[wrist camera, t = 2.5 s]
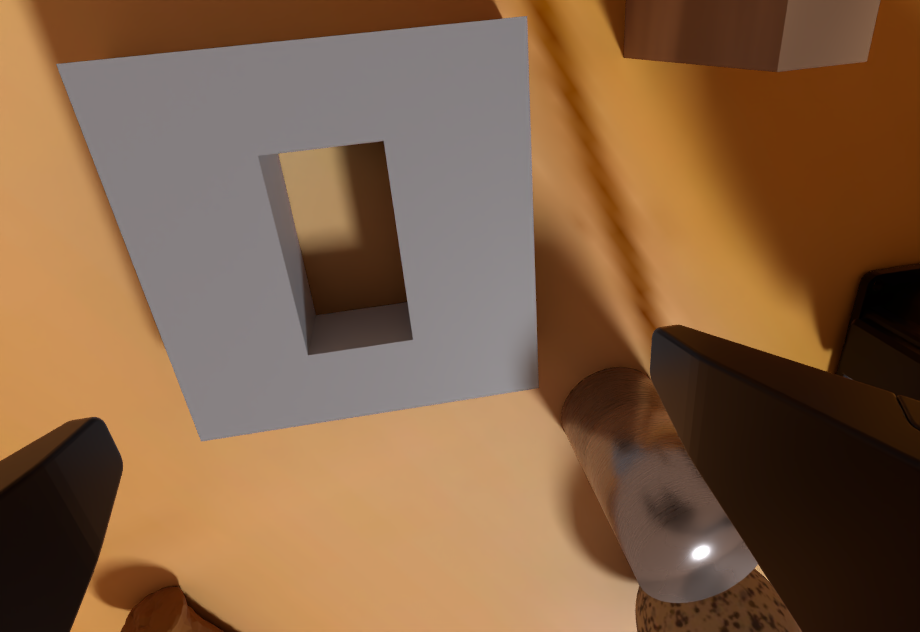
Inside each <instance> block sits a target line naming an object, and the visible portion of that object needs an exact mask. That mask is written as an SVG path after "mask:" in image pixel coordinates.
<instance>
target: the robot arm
mask: <svg viewBox="0 0 920 632" xmlns="http://www.w3.org/2000/svg"><path fill="white" fill-rule="evenodd" d="M874 283H875V284H874ZM873 284H874V285H873ZM650 375H651V380H652V383H653V385H654V387H655V389H656V391H657V393H658V395H659V397H660V399H661V402H662V404H663V406H664V408H665V410H666V412H667V414H668V416H669V418H670V420H671V422H672V424H673V426H674V428H675V430H676V432H677V434H678V436H679V438H680V440H681V442H682V444H683V446H684V448H685V450H686V452H687V454H688V456H689V457H690V459H691V460H692V462H693V464H694V465H695V467H696V469H697V470H698V472H699V473H700V475H701V476H702V478H703V479H704V481H705V483H706V484H707V486H708V487H709V489H710V490H711V492H712V493H713V495H714V496H715V498H716V500H717V501H718V503H719V504H720V506H721V507H722V509H723V510H724V512H725V514H726V515H727V517H728V518H729V520H730V521H731V523H732V524H733V526H734V527H735V529H736V531H737V532H738V534H739V535H740V537H741V538H742V540H743V541H744V543H745V544H746V546H747V548H748V549H749V551H750V552H751V554H752V555H753V557H754V558H755V560H756V561H757V563H758V565H759V566H760V568H761V569H762V571H763V572H764V574H765V575H766V577H767V579H768V580H769V582H770V583H771V585H772V586H773V588H774V589H775V591H776V592H777V594H778V596H779V597H780V599H781V600H782V602H783V603H784V605H785V606H786V608H787V609H788V611H789V613H790V614H791V616H792V617H793V619H794V620H795V622H796V623H797V625H798V627H799V628H800V630H801V631H802V632H920V264H914V265H908V266H901V267H894V268H887V269H881V270H874V271H871V272H868V273H867V274H866V275H865V276H864V277H863V278H862V279H861V282H860V284H859V288H858V292H857V296H856V300H855V304H854V308H853V312H852V315H851V319H850V323H849V327H848V331H847V335H846V339H845V343H844V346H843V350H842V354H841V358H840V362H839V366H838V370H837V374H833V373H829V372H826V371H823V370H820V369H817V368H814V367H811V366H807V365H804V364H801V363H798V362H795V361H792V360H789V359H786V358H782V357H779V356H776V355H773V354H770V353H767V352H764V351H760V350H757V349H754V348H751V347H748V346H745V345H742V344H739V343H735V342H732V341H729V340H726V339H723V338H720V337H717V336H713V335H710V334H707V333H704V332H701V331H698V330H695V329H692V328H688V327H685V326H682V325H672V326H665V327H660V328H657V329H656V330H655V331H654V333H653V336H652V347H651V362H650ZM122 471H123V462H122V458H121V455H120V453H119V451H118V449H117V447H116V445H115V442H114V440H113V438H112V436H111V434H110V432H109V430H108V428H107V426H106V424H105V423H104V421H103V420H101V419H100V418H97V417H90V418H83V419H77V420H72V421H69V422H66V423H65V424H63V425H61V426H60V427H58V428H56V429H54V430H53V431H51V432H49V433H48V434H46V435H44V436H43V437H41V438H39V439H37V440H36V441H34V442H32V443H31V444H29V445H27V446H25V447H24V448H22V449H20V450H19V451H17V452H15V453H13V454H12V455H10V456H8V457H7V458H5V459H3V460H1V461H0V632H70V630H71V628H72V625H73V623H74V620H75V618H76V615H77V613H78V610H79V608H80V605H81V603H82V600H83V598H84V595H85V593H86V590H87V587H88V585H89V582H90V580H91V577H92V575H93V572H94V569H95V566H96V564H97V561H98V558H99V555H100V551H101V548H102V545H103V541H104V538H105V534H106V530H107V527H108V523H109V520H110V516H111V512H112V509H113V505H114V501H115V498H116V494H117V490H118V487H119V483H120V479H121V476H122Z"/></svg>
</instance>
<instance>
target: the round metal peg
mask: <svg viewBox="0 0 920 632" xmlns="http://www.w3.org/2000/svg"><path fill="white" fill-rule="evenodd" d="M561 420H562V426H563V429H564V431H565V433H566V435H567V437H568V440H569V442H570V444H571V446H572V448H573V450H574V452H575V454H576V456H577V458H578V460H579V462H580V464H581V466H582V468H583V470H584V472H585V474H586V477H587V479H588V481H589V483H590V485H591V487H592V489H593V491H594V493H595V495H596V497H597V499H598V501H599V503H600V505H601V507H602V509H603V511H604V514H605V516H606V518H607V520H608V522H609V524H610V526H611V528H612V530H613V532H614V534H615V536H616V538H617V540H618V542H619V544H620V546H621V548H622V551H623V553H624V555H625V557H626V559H627V561H628V563H629V565H630V567H631V569H632V571H633V573H634V575H635V577H636V579H637V581H638V583H639V585H640V587H641V588H642V590H643V591H644V592H645V593H646V594H648V595H649V596H651V597H653V598H655V599H657V600H660V601H664V602H670V603H688V602H695V601H699V600H703V599H706V598H710V597H712V596H715V595H717V594H720V593H722V592H724V591H726V590H728V589H729V588H731V587H733V586H734V585H736V584H737V583H738V582H740V581H741V580H743V579H744V578H745V577H746V576H747V575H748V574H749V573H750V572H751V571H752V570H753V569H754V568H755V567H756V566H757V564H758V563H757V561H756V560H755V558H754V557H753V555H752V554H751V552H750V551H749V549H748V548H747V546H746V544H745V543H744V541H743V540H742V538H741V537H740V535H739V534H738V532H737V531H736V529H735V527H734V526H733V524H732V523H731V521H730V520H729V518H728V517H727V515H726V514H725V512H724V510H723V509H722V507H721V506H720V504H719V503H718V501H717V500H716V498H715V496H714V495H713V493H712V492H711V490H710V489H709V487H708V486H707V484H706V483H705V481H704V479H703V478H702V476H701V475H700V473H699V472H698V470H697V469H696V467H695V465H694V464H693V462H692V460H691V459H690V457H689V456H688V454H687V452H686V450H685V448H684V446H683V444H682V442H681V440H680V438H679V436H678V434H677V432H676V430H675V428H674V426H673V424H672V422H671V420H670V418H669V416H668V414H667V412H666V410H665V408H664V406H663V404H662V402H661V399H660V397H659V395H658V393H657V391H656V389H655V387H654V385H653V383H652V381H651V380H650V379H649V378H648V377H647V376H646V375H645V374H643V373H642V372H639V371H637V370H634V369H631V368H620V367H618V368H610V369H605V370H602V371H599V372H597V373H594V374H592V375H590V376H589V377H587V378H585V379H584V380H583V381H581V382H580V383H579V384H578V385H577V386H576V387H575V388H574V389H573V390H572V391H571V393H570V394H569V396H568V397H567V399H566V401H565V403H564V406H563V409H562V416H561Z"/></svg>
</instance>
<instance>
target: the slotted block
mask: <svg viewBox="0 0 920 632" xmlns="http://www.w3.org/2000/svg"><path fill="white" fill-rule="evenodd" d="M56 65H57V68H58V70H59V73H60V75H61V78H62V81H63V83H64V86H65V88H66V91H67V94H68V96H69V99H70V101H71V104H72V107H73V109H74V112H75V114H76V117H77V120H78V122H79V125H80V127H81V130H82V133H83V135H84V138H85V140H86V143H87V146H88V148H89V151H90V153H91V156H92V159H93V161H94V164H95V166H96V169H97V172H98V174H99V177H100V179H101V182H102V185H103V187H104V190H105V192H106V195H107V198H108V200H109V203H110V205H111V208H112V211H113V213H114V216H115V218H116V221H117V224H118V226H119V229H120V231H121V234H122V237H123V239H124V242H125V244H126V247H127V250H128V252H129V255H130V257H131V260H132V263H133V265H134V268H135V270H136V273H137V276H138V278H139V281H140V283H141V286H142V289H143V291H144V294H145V296H146V299H147V302H148V304H149V307H150V309H151V312H152V315H153V317H154V320H155V322H156V325H157V328H158V330H159V333H160V335H161V338H162V341H163V343H164V346H165V349H166V351H167V354H168V356H169V359H170V362H171V364H172V367H173V369H174V372H175V375H176V377H177V380H178V382H179V385H180V388H181V390H182V393H183V395H184V398H185V401H186V403H187V406H188V408H189V411H190V414H191V416H192V419H193V421H194V424H195V427H196V429H197V432H198V434H199V437H200V440H201V441H207V440H213V439H220V438H226V437H232V436H239V435H245V434H251V433H258V432H264V431H270V430H277V429H283V428H289V427H296V426H302V425H308V424H315V423H321V422H327V421H334V420H340V419H346V418H353V417H359V416H365V415H371V414H378V413H384V412H390V411H397V410H403V409H409V408H416V407H422V406H428V405H435V404H441V403H447V402H454V401H460V400H466V399H473V398H479V397H485V396H492V395H498V394H504V393H510V392H517V391H523V390H529V389H536V388H539V381H538V349H537V318H536V286H535V255H534V223H533V191H532V160H531V128H530V97H529V65H528V33H527V16H524V17H514V18H504V19H495V20H485V21H475V22H465V23H455V24H445V25H436V26H426V27H416V28H406V29H396V30H386V31H377V32H367V33H357V34H347V35H337V36H327V37H318V38H308V39H298V40H288V41H278V42H268V43H259V44H249V45H239V46H229V47H219V48H209V49H199V50H190V51H180V52H170V53H160V54H150V55H140V56H131V57H121V58H111V59H101V60H91V61H81V62H72V63H62V64H56ZM379 141H384V147H385V153H386V160H387V167H388V174H389V180H390V187H391V194H392V201H393V207H394V214H395V221H396V228H397V234H398V241H399V248H400V255H401V261H402V268H403V275H404V282H405V288H406V295H407V302H406V303H399V304H392V305H385V306H378V307H371V308H363V309H356V310H349V311H342V312H335V313H328V314H321V315H316V313H315V309H314V305H313V301H312V296H311V292H310V288H309V284H308V279H307V275H306V271H305V267H304V262H303V258H302V254H301V249H300V245H299V241H298V237H297V232H296V228H295V224H294V220H293V215H292V211H291V207H290V203H289V198H288V194H287V190H286V185H285V181H284V177H283V173H282V168H281V164H280V160H279V156H278V153H286V152H294V151H303V150H311V149H320V148H328V147H336V146H345V145H353V144H362V143H370V142H379Z"/></svg>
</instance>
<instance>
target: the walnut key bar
mask: <svg viewBox="0 0 920 632" xmlns="http://www.w3.org/2000/svg"><path fill="white" fill-rule="evenodd" d="M879 4H880V0H626V10H625V36H624V58H632V59H642V60H653V61H664V62H675V63H686V64H696V65H707V66H718V67H729V68H740V69H751V70H761V71H772V72H781V71H790V70H799V69H807V68H816V67H825V66H834V65H842V64H851V63H860V62H867V59H868V54H869V50H870V45H871V41H872V36H873V32H874V27H875V22H876V18H877V13H878V9H879Z"/></svg>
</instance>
